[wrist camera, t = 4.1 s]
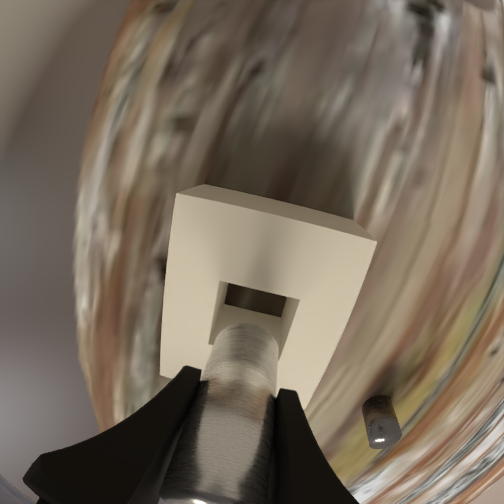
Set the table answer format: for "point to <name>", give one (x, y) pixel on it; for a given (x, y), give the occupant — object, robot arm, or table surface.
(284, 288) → the hole block
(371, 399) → the short pin
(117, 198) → the table surface
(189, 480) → the long pin
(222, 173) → the table surface
